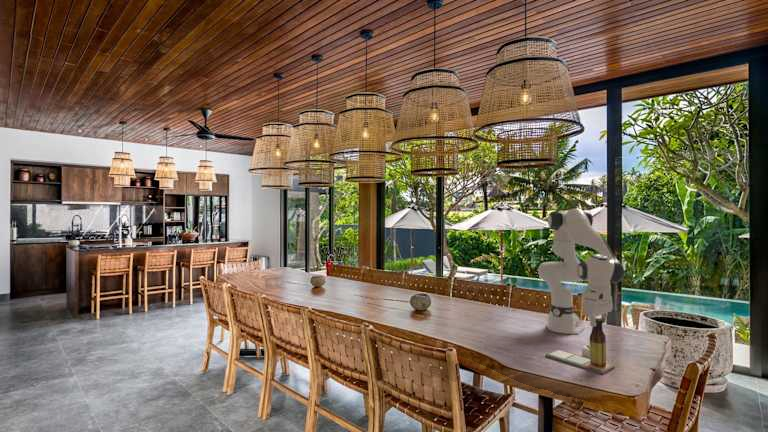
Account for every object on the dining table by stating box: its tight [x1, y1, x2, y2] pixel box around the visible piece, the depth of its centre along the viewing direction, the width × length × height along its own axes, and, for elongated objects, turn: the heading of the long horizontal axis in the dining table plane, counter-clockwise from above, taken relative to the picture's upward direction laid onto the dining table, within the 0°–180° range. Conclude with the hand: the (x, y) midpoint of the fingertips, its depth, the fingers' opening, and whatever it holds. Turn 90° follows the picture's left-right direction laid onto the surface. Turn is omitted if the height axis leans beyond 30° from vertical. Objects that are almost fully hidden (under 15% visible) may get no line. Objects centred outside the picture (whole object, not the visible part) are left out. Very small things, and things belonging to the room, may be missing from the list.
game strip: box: [544, 348, 616, 375], centre depth 173 cm, size 12×25×1 cm, turn 38°
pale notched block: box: [581, 345, 590, 358], centre depth 179 cm, size 4×4×5 cm
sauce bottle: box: [589, 317, 607, 367], centre depth 167 cm, size 7×6×20 cm
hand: (598, 324), depth 167 cm, fingers open, 8 cm apart
